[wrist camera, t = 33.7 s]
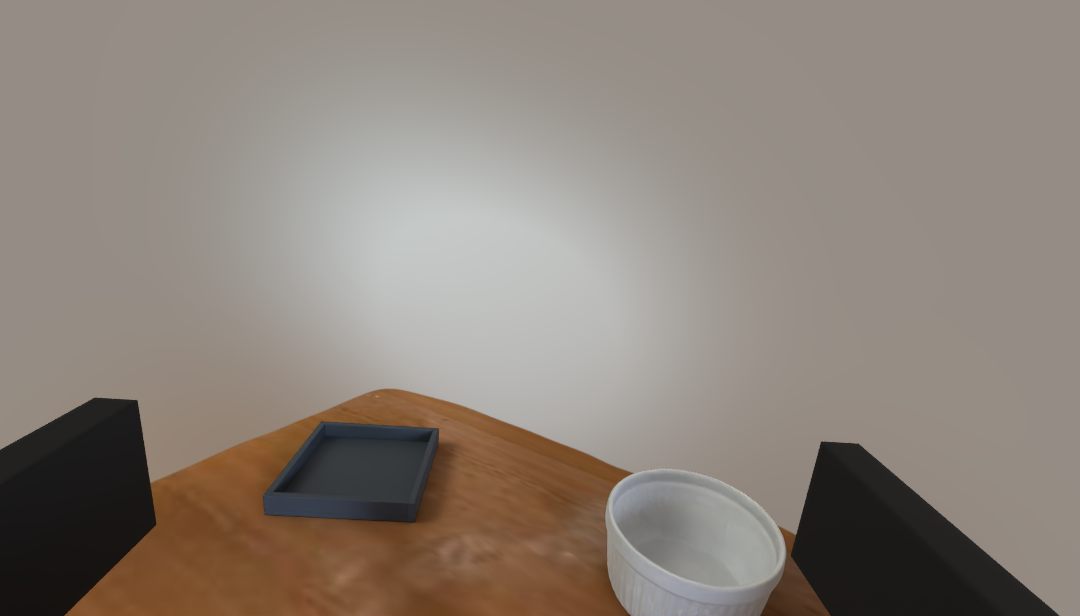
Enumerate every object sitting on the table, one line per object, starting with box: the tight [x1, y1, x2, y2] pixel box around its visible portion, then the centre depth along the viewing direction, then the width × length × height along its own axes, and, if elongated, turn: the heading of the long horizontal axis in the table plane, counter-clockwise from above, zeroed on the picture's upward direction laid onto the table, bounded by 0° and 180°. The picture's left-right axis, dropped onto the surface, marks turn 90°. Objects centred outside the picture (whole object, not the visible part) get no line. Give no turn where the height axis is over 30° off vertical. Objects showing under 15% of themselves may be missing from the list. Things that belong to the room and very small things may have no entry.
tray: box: [263, 421, 439, 522], centre depth 51 cm, size 13×13×2 cm
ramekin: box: [605, 469, 786, 616], centre depth 40 cm, size 13×13×7 cm
